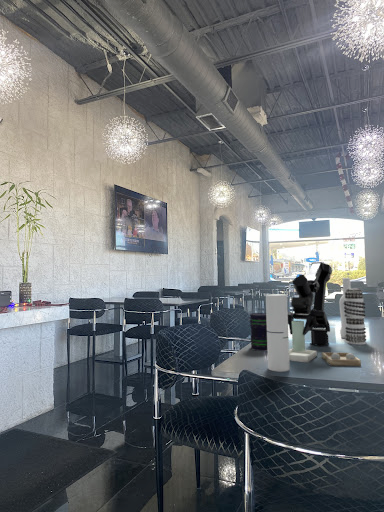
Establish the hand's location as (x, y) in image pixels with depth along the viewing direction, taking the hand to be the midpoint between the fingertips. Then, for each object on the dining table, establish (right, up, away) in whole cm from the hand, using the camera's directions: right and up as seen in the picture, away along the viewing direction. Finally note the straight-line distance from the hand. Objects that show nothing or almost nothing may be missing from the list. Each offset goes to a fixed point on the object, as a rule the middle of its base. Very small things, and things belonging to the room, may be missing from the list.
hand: (297, 334), depth 133 cm
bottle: (+39, -11, +41) cm, 57 cm away
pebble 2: (+16, -7, -11) cm, 20 cm away
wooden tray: (+14, -8, -7) cm, 17 cm away
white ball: (+11, -7, -10) cm, 16 cm away
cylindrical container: (-11, -9, -15) cm, 20 cm away
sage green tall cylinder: (+1, -6, +1) cm, 6 cm away
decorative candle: (+36, -10, +28) cm, 46 cm away
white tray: (+1, -9, 0) cm, 9 cm away
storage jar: (-9, -11, +20) cm, 24 cm away
